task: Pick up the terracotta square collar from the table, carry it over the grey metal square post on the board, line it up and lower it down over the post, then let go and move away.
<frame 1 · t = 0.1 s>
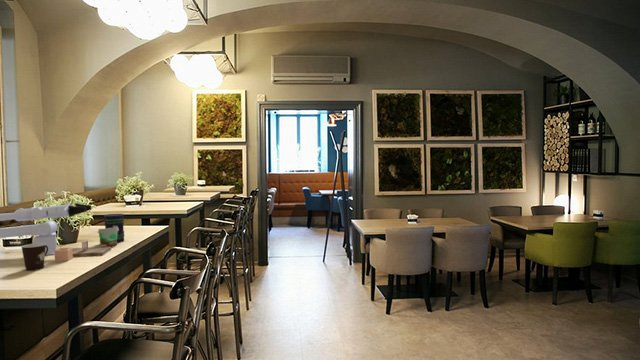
hand: (88, 208, 221), 22 cm above the table, tool horizontal, fingers open, 7 cm apart
collar: (64, 259, 205), on the table
board: (85, 253, 218), on the table
coffee mug: (38, 268, 190), on the table
post: (85, 250, 218), resting on board
food container: (111, 246, 236), on the table
storage jar: (114, 241, 249), on the table
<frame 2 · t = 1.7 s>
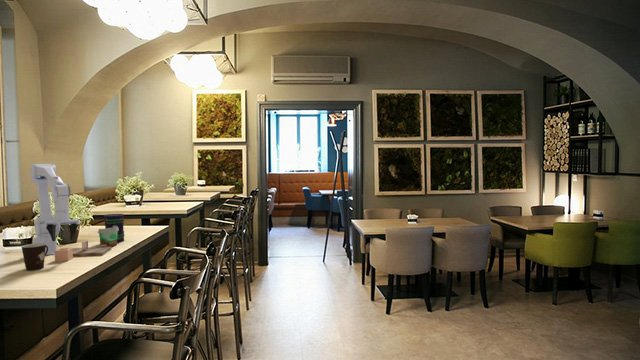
hand: (63, 240, 204), 9 cm above the table, tool pointing down, fingers open, 7 cm apart
nothing on the table moved.
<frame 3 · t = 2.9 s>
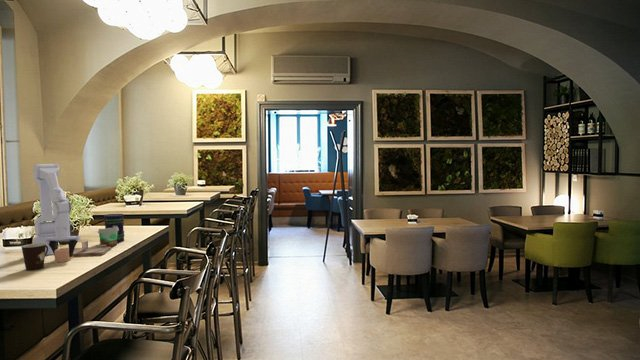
hand: (63, 256, 205), 1 cm above the table, tool pointing down, fingers closed on collar, 6 cm apart
collar: (64, 259, 205), on the table, touching gripper
everything else where it was.
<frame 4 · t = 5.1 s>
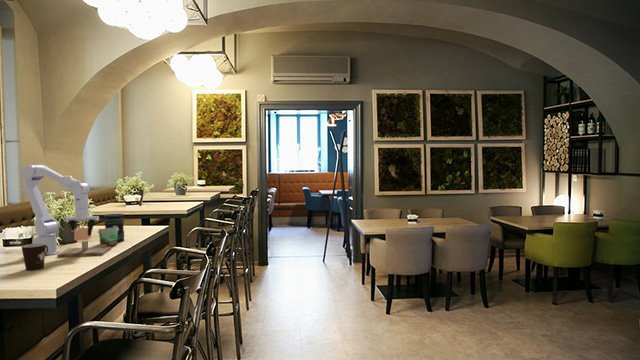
hand: (82, 235, 217), 9 cm above the table, tool pointing down, fingers closed on collar, 6 cm apart
collar: (82, 238, 217), point 7 cm above the table, touching gripper
everything else where it was.
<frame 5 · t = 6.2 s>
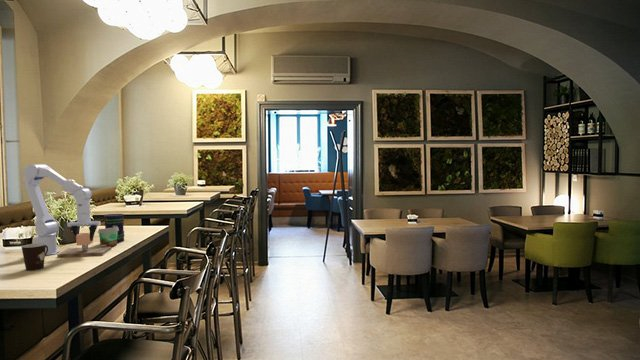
hand: (84, 240, 218), 6 cm above the table, tool pointing down, fingers closed on collar, 6 cm apart
collar: (84, 244, 218), point 5 cm above the table, touching gripper
everything else where it was.
when the fingers open (4 cm above the table, at t = 7.2 s): collar drops 1 cm, resting on board.
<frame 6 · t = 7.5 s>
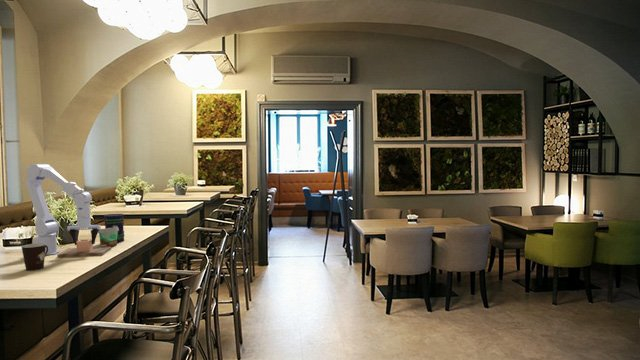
hand: (84, 244, 218), 4 cm above the table, tool pointing down, fingers open, 7 cm apart
collar: (85, 250, 218), point 1 cm above the table, touching board
everything else where it was.
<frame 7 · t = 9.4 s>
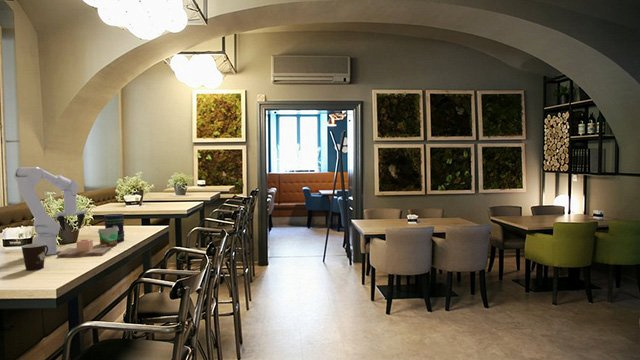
hand: (71, 229, 233), 9 cm above the table, tool pointing down, fingers open, 7 cm apart
nothing on the table moved.
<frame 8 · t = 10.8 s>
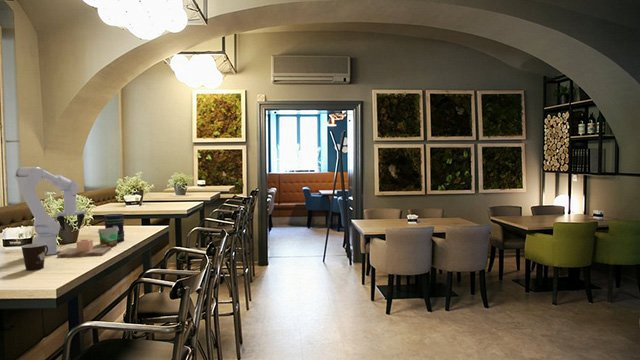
hand: (71, 229, 233), 9 cm above the table, tool pointing down, fingers open, 7 cm apart
nothing on the table moved.
at the end: collar 0.2 cm off-centre on the post, point 0.0 cm above the post's base; collar tilted 0°; the gripper is holding nothing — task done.
